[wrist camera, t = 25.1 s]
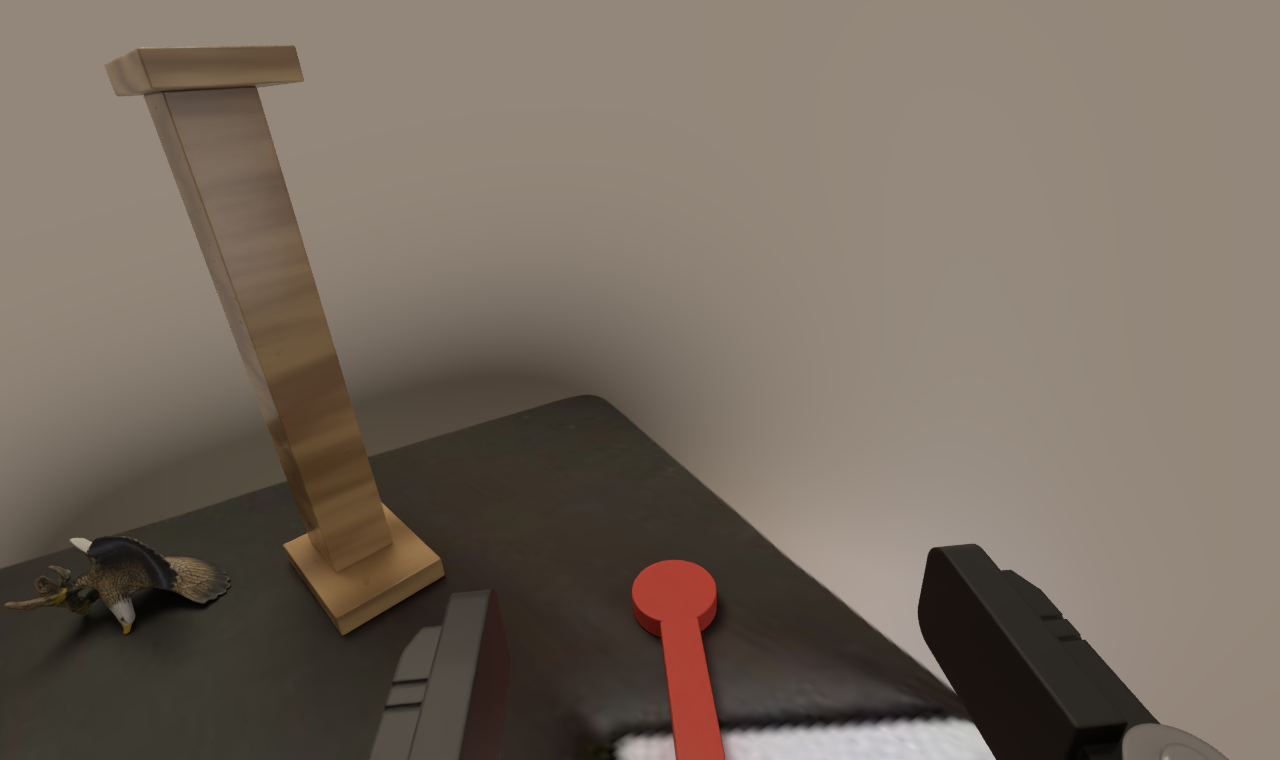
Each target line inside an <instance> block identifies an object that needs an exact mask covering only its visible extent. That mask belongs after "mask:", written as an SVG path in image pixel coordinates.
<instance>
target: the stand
mask: <svg viewBox="0 0 1280 760" xmlns="http://www.w3.org/2000/svg"><path fill="white" fill-rule="evenodd" d="M105 68H106V71H107V73H108V76H109V78H110V81H111V84H112V86H113V89H114V91H115V94H116V95H117V96H134V95H144V98H145V101H146V103H147V106H148V108H149V111H150V114H151V117H152V119H153V122H154V125H155V127H156V130H157V132H158V135H159V138H160V140H161V143H162V146H163V149H164V151H165V154H166V157H167V159H168V162H169V165H170V167H171V170H172V173H173V176H174V178H175V181H176V184H177V186H178V189H179V191H180V194H181V197H182V199H183V202H184V205H185V207H186V210H187V213H188V216H189V218H190V220H191V224H192V226H193V229H194V232H195V234H196V237H197V240H198V242H199V245H200V248H201V250H202V253H203V256H204V258H205V261H206V264H207V266H208V269H209V272H210V274H211V277H212V280H213V282H214V285H215V288H216V290H217V293H218V296H219V299H220V301H221V304H222V307H223V309H224V312H225V315H226V317H227V320H228V323H229V325H230V328H231V331H232V333H233V336H234V339H235V341H236V344H237V347H238V349H239V352H240V354H241V358H242V360H243V363H244V365H245V368H246V371H247V374H248V376H249V379H250V382H251V384H252V387H253V390H254V392H255V395H256V397H257V400H258V403H259V406H260V408H261V411H262V413H263V416H264V419H265V422H266V424H267V427H268V430H269V432H270V435H271V438H272V441H273V443H274V446H275V449H276V451H277V454H278V457H279V459H280V462H281V465H282V467H283V470H284V473H285V475H286V478H287V481H288V483H289V486H290V489H291V491H292V494H293V497H294V499H295V502H296V505H297V507H298V510H299V513H300V515H301V518H302V521H303V523H304V526H305V529H306V532H307V534H305V535H303V536H301V537H299V538H296V539H294V540H292V541H290V542H288V543H286V544H284V545H283V546H284V549H285V551H286V554H287V556H288V559H289V561H290V562H291V564H292V565H293V567H294V568H295V570H296V571H297V572H298V574H299V575H300V577H301V578H302V579H303V581H304V582H305V584H306V585H307V587H308V588H309V589H310V591H311V592H312V594H313V595H314V596H315V598H316V599H317V601H318V602H319V604H320V605H321V606H322V608H323V609H324V611H325V612H326V614H327V615H328V616H329V618H330V619H331V621H332V622H333V623H334V625H335V626H336V628H337V629H338V631H339V632H340V633H341V635H342V636H343V635H345V634H347V633H348V632H350V631H352V630H353V629H355V628H357V627H358V626H360V625H362V624H364V623H365V622H367V621H369V620H370V619H372V618H374V617H375V616H377V615H379V614H380V613H382V612H384V611H385V610H387V609H389V608H390V607H392V606H394V605H395V604H397V603H399V602H401V601H402V600H404V599H406V598H407V597H409V596H411V595H412V594H414V593H416V592H417V591H419V590H421V589H422V588H424V587H426V586H427V585H429V584H431V583H432V582H434V581H436V580H438V579H439V578H441V577H443V576H444V575H445V573H444V569H443V566H442V562H441V558H440V557H438V556H437V555H436V554H435V553H434V552H433V551H432V550H431V549H430V548H429V547H428V546H427V545H426V544H425V543H424V542H423V541H422V540H421V539H419V538H418V537H417V536H416V535H415V534H414V533H413V532H412V531H411V530H410V529H409V528H408V527H407V526H406V525H405V524H404V523H403V522H402V521H400V520H399V519H398V518H397V517H396V516H395V515H394V514H393V513H392V512H391V511H390V510H389V509H388V508H387V507H386V506H385V505H384V504H383V503H381V500H380V497H379V494H378V490H377V487H376V484H375V480H374V477H373V474H372V470H371V467H370V464H369V460H368V457H367V454H366V451H365V447H364V444H363V440H362V437H361V434H360V430H359V427H358V424H357V421H356V417H355V414H354V410H353V407H352V404H351V401H350V397H349V394H348V391H347V387H346V384H345V380H344V377H343V374H342V370H341V367H340V364H339V360H338V357H337V354H336V350H335V347H334V344H333V341H332V338H331V334H330V331H329V327H328V324H327V321H326V317H325V314H324V311H323V307H322V304H321V301H320V297H319V294H318V291H317V287H316V284H315V281H314V277H313V274H312V271H311V267H310V264H309V261H308V257H307V254H306V251H305V248H304V244H303V241H302V237H301V234H300V231H299V227H298V224H297V221H296V217H295V214H294V211H293V207H292V204H291V201H290V197H289V194H288V191H287V187H286V184H285V181H284V177H283V174H282V171H281V167H280V164H279V161H278V157H277V154H276V151H275V148H274V144H273V141H272V137H271V134H270V131H269V127H268V124H267V121H266V118H265V114H264V111H263V107H262V104H261V101H260V97H259V94H258V91H257V88H258V87H266V86H273V85H280V84H288V83H296V82H303V81H304V78H303V74H302V71H301V67H300V63H299V59H298V56H297V52H296V48H295V46H293V45H280V46H279V45H278V46H277V45H275V46H215V47H161V48H159V47H156V48H137V49H135V50H133V51H131V52H129V53H127V54H125V55H123V56H121V57H119V58H116V59H115V60H113V61H110V62H108V63H106V64H105Z"/></svg>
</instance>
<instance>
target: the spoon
mask: <svg viewBox="0 0 1280 760" xmlns="http://www.w3.org/2000/svg"><path fill="white" fill-rule="evenodd" d="M632 601H633V611H634V615H635V617H636V619H637V621H638V622H639V624H640V625H641V626H642V627H643V628H644V629H645V630H647V631H648V632H650V633H652V634H654V635H656V636H659V637H661V641H662V649H663V657H664V665H665V674H666V682H667V690H668V698H669V706H670V714H671V722H672V730H673V738H674V747H675V755H676V760H725V755H724V750H723V744H722V739H721V734H720V729H719V724H718V719H717V714H716V709H715V704H714V699H713V694H712V688H711V683H710V678H709V673H708V668H707V663H706V658H705V653H704V648H703V643H702V637H701V631H703V630H704V629H705V628H706V627H707V626H709V624H710V623H711V622H712V620H713V619H714V617H715V614H716V610H717V589H716V584H715V582H714V580H713V578H712V576H711V575H710V574H709V573H708V572H707V571H706V570H705V569H704V568H702V567H700V566H699V565H697V564H694V563H691V562H688V561H683V560H667V561H662V562H658V563H655V564H653V565H651V566H649V567H647V568H646V569H644V570H643V571H642V572H641V573H640V574H639V575H638V576H637V578H636V579H635V581H634V584H633V587H632Z"/></svg>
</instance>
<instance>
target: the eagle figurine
mask: <svg viewBox="0 0 1280 760" xmlns="http://www.w3.org/2000/svg"><path fill="white" fill-rule="evenodd" d="M69 542H70V543H71V544H72V545H73V546H74V547H75V548H77V549H78V550H79V551H81V552H82V553H84V554H85V555H87V557H88V559H89V560H90V561H91V563H92V567H91V569H90V570H89V571H87V572H85V573H84V574H82V575H80V576H78V577H77V578H76V579H73V580H71V578H70V575H71V572H70V571H69V570H65V569H63V568H61V567H59V566H49V567H48V568H49V569H51V570H52V571H54V572H56V573H57V575H58V583H59V586H58V585H57V584H56V583H55V582H54V581H52V580H50V579H48V578H47V577H45V576H41V577H40V578H38V579H37V580H36V581H35V583H34V586H35V589H36V590H37V592H38V593H40V595H41V597H40V598H38V599H34V600H30V601H24V602H8V603H5V604H4V607H5V608H8V609H11V610H15V611H30V610H34V609H37V608H40V607H46V606H49V607H51V606H56V607H67V608H69V609H70V610H71V611H72V612H76V613H77V614H80V615H82V616H85V615H86V614H89V613H90V611H89V608H90V606H91V604H92V603H93V602H95V601H96V600H97V599H98V598H101V599H102V600H103V601H104V603H105V605H106V606H107V607H108V608H109V609H110V610H111V611H112V612H113V614H114V615H115V616H116V617H117V619H118V621H119V622H120V623H121V625H122V626H123V629H124V632H123V634H128V633H129V632H130V630H131V625H132V623H133V621H134V620H135V612H134V608H133V605H132V601H131V596H132V594H133V593H135V592H137V591H139V590H142V589H145V588H158V589H163V590H168V591H172V592H176V593H179V594H180V595H182V596H184V597H186V598H188V599H190V600H192V601H194V602H198V603H201V604H204V603H206V602H207V601H208V600H214V599H216V598H217V596H218V595H221V594H224V593H225V592H227V590H226V589H227V588H229V587H230V583H228V582H227V581H228V580H229V577H228V576H226V575H223V574H225V571H223V570H221V567H219V566H217V565H216V564H212V563H211V562H208V561H204V560H203V559H195V558H192V557H187V556H183V557H180V556H163V555H161V554H158V553H157V552H156V550H155V549H153V548H150V547H149V546H148V545H147V544H144V543H142V542H141V541H138V540H137V539H133V538H131V537H126V536H104V537H99V538H96V539H95V540H94V541H93V542H90V541H88V540H87V539H84V538H73V539H70V540H69ZM87 588H92V589H91V590H90V591H89V592H88V593H87V594H86V596H85V597H78V592H79V591H81V590H83V589H87Z"/></svg>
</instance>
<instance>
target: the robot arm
mask: <svg viewBox="0 0 1280 760" xmlns="http://www.w3.org/2000/svg"><path fill="white" fill-rule="evenodd" d="M918 620H919V625H920V629H921V632H922V635H923V638H924V640H925V642H926V644H927V645H928V647H929V649H930V650H931V652H932V654H933V655H934V657H935V659H936V660H937V662H938V663H939V665H940V667H941V669H942V670H943V672H944V674H945V675H946V677H947V679H948V680H949V682H950V684H951V685H952V687H953V689H954V690H955V692H956V694H957V695H958V697H959V699H960V700H961V702H962V704H963V705H964V707H965V709H966V710H967V712H968V714H969V715H970V717H971V719H972V720H973V722H974V724H975V725H976V727H977V729H978V730H979V732H980V734H981V735H982V737H983V739H984V740H985V742H986V744H987V745H988V747H989V749H990V750H991V752H992V754H993V755H994V757H995V759H996V760H1229V759H1227V758H1226V757H1225V756H1224V755H1223V754H1222V753H1220V752H1219V751H1218V750H1217V749H1215V748H1214V747H1212V746H1211V745H1209V744H1208V743H1206V742H1205V741H1203V740H1201V739H1199V738H1197V737H1196V736H1194V735H1192V734H1190V733H1187V732H1185V731H1183V730H1180V729H1177V728H1174V727H1171V726H1166V725H1162V724H1160V723H1159V722H1158V721H1157V720H1156V719H1155V718H1154V717H1153V716H1152V715H1151V713H1150V712H1149V711H1148V710H1147V709H1146V708H1145V707H1144V706H1143V704H1142V703H1141V702H1140V701H1139V700H1138V699H1137V698H1136V697H1135V695H1134V694H1133V693H1132V692H1131V691H1130V690H1129V689H1128V688H1127V686H1126V685H1125V684H1124V683H1123V682H1122V681H1121V680H1120V679H1119V677H1117V675H1116V674H1115V673H1114V672H1113V671H1112V670H1111V668H1110V667H1109V666H1108V665H1107V664H1106V663H1105V662H1104V660H1103V659H1102V658H1101V657H1100V656H1099V655H1098V654H1097V653H1096V651H1095V650H1094V649H1093V648H1092V647H1091V646H1090V645H1089V644H1088V642H1087V641H1086V640H1082V639H1081V637H1080V634H1079V632H1078V631H1077V630H1076V629H1075V628H1074V627H1073V626H1072V625H1071V623H1070V622H1069V621H1068V620H1067V619H1063V617H1062V613H1061V612H1060V611H1059V610H1058V609H1057V608H1056V607H1055V605H1054V604H1053V603H1052V602H1051V601H1050V600H1049V599H1048V597H1047V596H1046V595H1045V594H1044V593H1043V592H1042V591H1041V590H1040V589H1039V588H1037V587H1036V586H1034V585H1033V584H1031V583H1030V582H1028V581H1027V580H1025V579H1024V578H1022V577H1021V576H1019V575H1018V574H1017V573H1015V572H1014V571H1012V570H1003V571H1001V570H1000V569H999V568H998V567H997V565H996V564H995V563H994V562H993V561H992V560H991V558H990V557H989V556H988V555H987V554H986V552H985V551H984V550H983V549H982V548H981V547H979V546H978V545H976V544H965V545H955V546H945V547H935V548H932V549H931V550H930V552H929V553H928V557H927V563H926V568H925V573H924V578H923V583H922V588H921V594H920V599H919V604H918ZM509 673H510V667H509V652H508V646H507V641H506V636H505V631H504V626H503V622H502V617H501V612H500V607H499V603H498V598H497V594H496V592H495V590H494V589H492V590H482V591H471V592H461V593H453V594H452V595H451V596H450V598H449V601H448V605H447V609H446V612H445V616H444V620H443V624H442V625H441V626H431V627H421V629H420V630H419V631H418V633H417V634H416V635H415V636H414V638H413V639H412V640H411V642H410V643H409V644H408V646H407V647H406V648H405V649H404V651H403V652H402V653H401V656H400V659H399V663H398V666H397V669H396V672H395V675H394V678H393V681H392V688H390V691H389V694H388V697H387V700H386V703H385V711H384V712H382V716H381V719H380V722H379V725H378V728H377V731H376V734H375V737H374V740H373V744H372V747H371V750H370V753H369V756H368V759H367V760H499V758H500V750H501V743H502V735H503V727H504V719H505V711H506V703H507V696H508V688H509Z"/></svg>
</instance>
